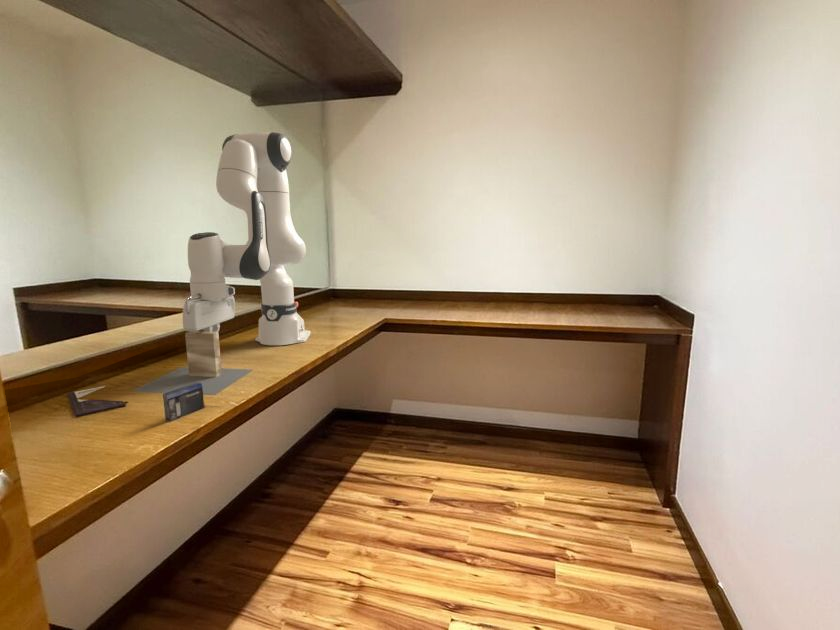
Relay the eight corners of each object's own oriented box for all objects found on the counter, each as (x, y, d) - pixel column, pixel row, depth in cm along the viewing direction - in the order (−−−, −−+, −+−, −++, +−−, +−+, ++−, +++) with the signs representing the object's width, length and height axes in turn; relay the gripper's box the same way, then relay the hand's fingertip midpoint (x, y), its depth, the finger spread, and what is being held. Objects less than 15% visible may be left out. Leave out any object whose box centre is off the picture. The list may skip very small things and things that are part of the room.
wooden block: (195, 372, 122) (191, 330, 120) (222, 373, 121) (218, 331, 119) (189, 375, 119) (184, 333, 117) (216, 376, 118) (213, 334, 116)
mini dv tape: (170, 422, 92) (167, 395, 91) (165, 420, 92) (162, 393, 91) (204, 408, 99) (202, 383, 98) (199, 407, 100) (197, 382, 99)
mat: (182, 368, 127) (181, 366, 127) (254, 371, 125) (253, 369, 125) (130, 393, 107) (130, 391, 107) (215, 397, 105) (215, 394, 105)
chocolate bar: (75, 415, 93) (67, 393, 106) (76, 419, 94) (67, 396, 106) (125, 404, 99) (111, 384, 112) (125, 408, 100) (112, 388, 112)
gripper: (196, 297, 110) (201, 350, 112) (237, 287, 130) (240, 332, 133) (173, 296, 111) (178, 349, 113) (217, 287, 131) (221, 332, 133)
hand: (212, 340), depth 123 cm, fingers closed
